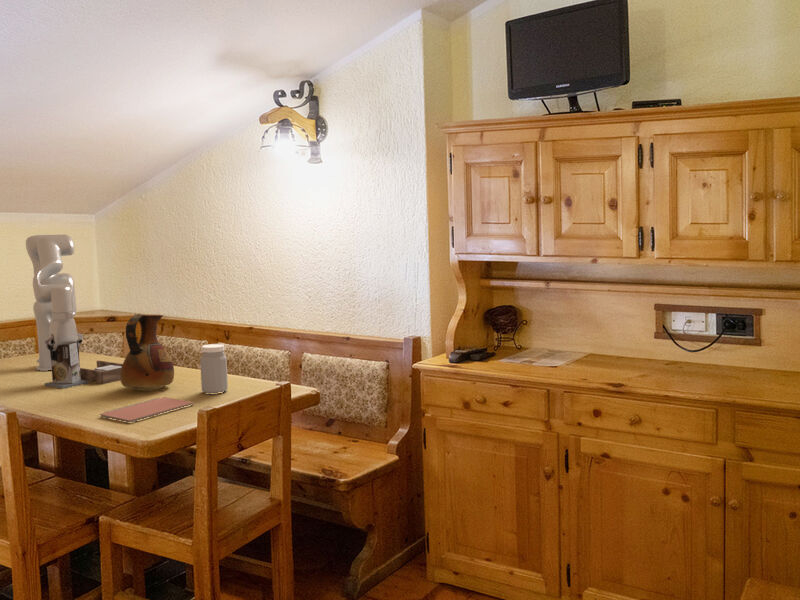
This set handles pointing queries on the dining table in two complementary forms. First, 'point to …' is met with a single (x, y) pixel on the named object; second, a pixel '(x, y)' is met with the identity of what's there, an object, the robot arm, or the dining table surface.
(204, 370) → the jar
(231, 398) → the dining table surface
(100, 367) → the grey offcut
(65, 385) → the slate mat
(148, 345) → the ceramic pitcher
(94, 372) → the tray
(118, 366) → the grey offcut
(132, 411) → the notebook
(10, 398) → the dining table surface
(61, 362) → the coffee box
